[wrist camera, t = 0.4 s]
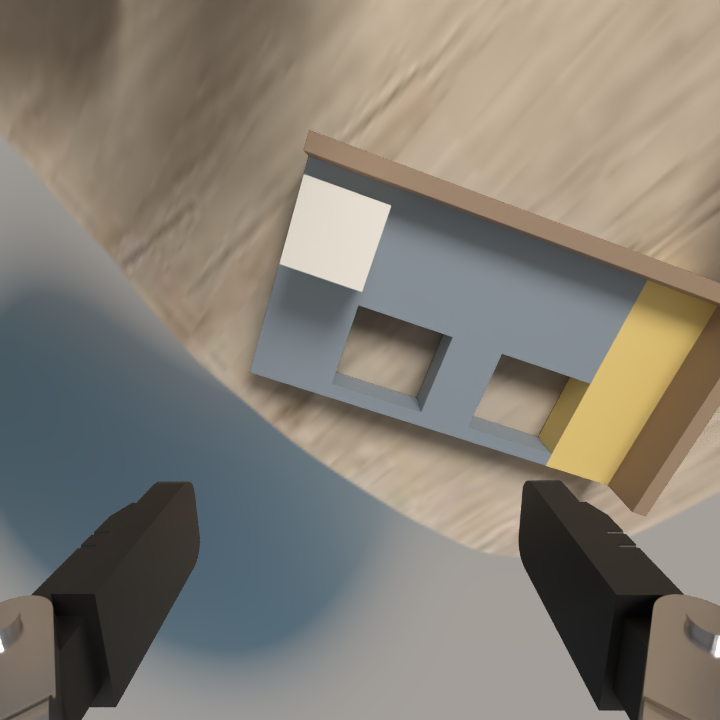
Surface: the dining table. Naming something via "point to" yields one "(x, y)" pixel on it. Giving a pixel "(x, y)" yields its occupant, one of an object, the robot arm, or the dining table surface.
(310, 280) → the trap deck
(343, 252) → the ivory block
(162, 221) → the dining table surface
